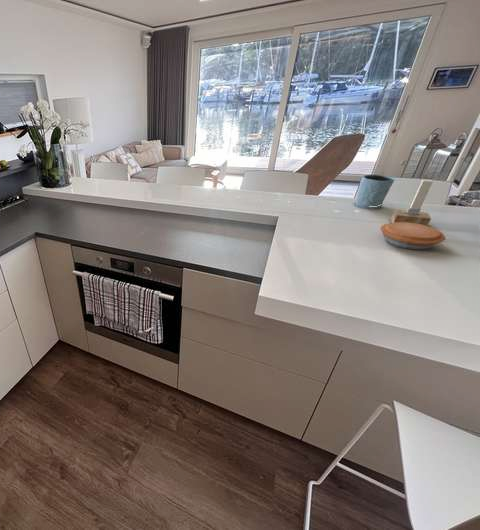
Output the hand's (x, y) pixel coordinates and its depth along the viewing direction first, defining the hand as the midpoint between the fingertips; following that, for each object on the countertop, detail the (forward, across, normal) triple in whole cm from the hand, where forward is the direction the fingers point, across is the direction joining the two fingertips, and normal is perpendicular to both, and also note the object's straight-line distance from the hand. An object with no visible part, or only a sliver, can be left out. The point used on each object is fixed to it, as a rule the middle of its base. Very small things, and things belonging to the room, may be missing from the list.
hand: (467, 198), depth 93 cm
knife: (+11, -1, +11) cm, 16 cm away
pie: (+13, +17, +11) cm, 24 cm away
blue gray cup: (+22, -18, +11) cm, 31 cm away
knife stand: (+11, 0, +11) cm, 16 cm away
